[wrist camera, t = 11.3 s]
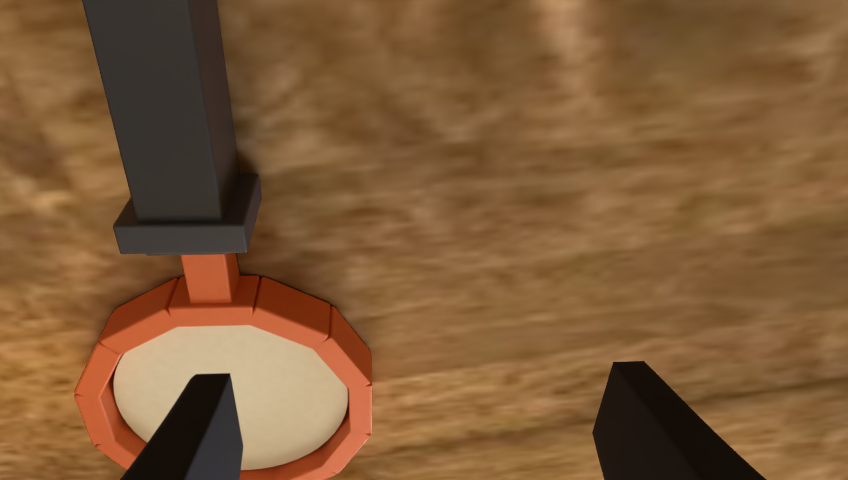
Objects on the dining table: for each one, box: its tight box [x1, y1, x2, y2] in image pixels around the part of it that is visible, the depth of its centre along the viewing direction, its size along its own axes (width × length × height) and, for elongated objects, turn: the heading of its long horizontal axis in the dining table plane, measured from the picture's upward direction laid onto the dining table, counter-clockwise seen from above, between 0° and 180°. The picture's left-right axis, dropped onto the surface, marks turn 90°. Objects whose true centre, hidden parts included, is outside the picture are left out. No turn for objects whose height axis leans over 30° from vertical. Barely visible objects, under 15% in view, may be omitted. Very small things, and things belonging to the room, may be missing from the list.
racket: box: [74, 0, 372, 480], centre depth 20 cm, size 11×24×3 cm, turn 177°
